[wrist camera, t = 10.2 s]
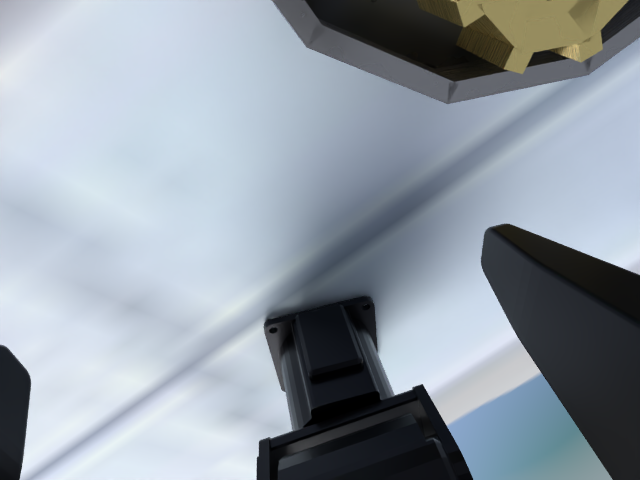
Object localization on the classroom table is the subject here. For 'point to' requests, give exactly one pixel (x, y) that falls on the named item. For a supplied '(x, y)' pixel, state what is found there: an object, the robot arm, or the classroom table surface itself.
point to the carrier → (434, 47)
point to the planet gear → (526, 27)
